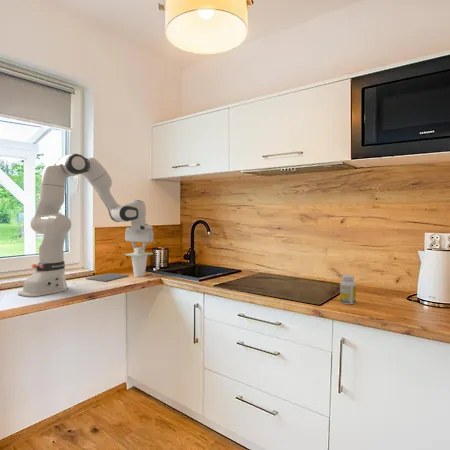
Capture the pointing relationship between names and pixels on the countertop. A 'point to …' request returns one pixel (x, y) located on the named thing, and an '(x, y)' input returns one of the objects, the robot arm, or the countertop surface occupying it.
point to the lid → (138, 252)
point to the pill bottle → (348, 290)
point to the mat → (107, 277)
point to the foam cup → (139, 265)
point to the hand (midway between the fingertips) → (139, 249)
